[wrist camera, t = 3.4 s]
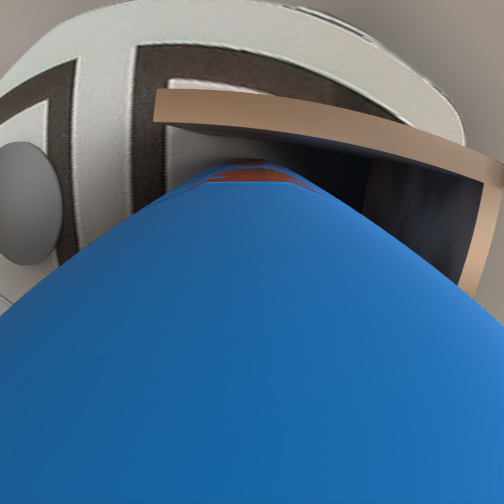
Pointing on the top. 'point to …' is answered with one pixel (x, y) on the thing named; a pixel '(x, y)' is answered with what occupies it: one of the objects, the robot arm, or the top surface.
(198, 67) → the top surface
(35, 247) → the coaster
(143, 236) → the thermos
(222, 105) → the walnut cubby
